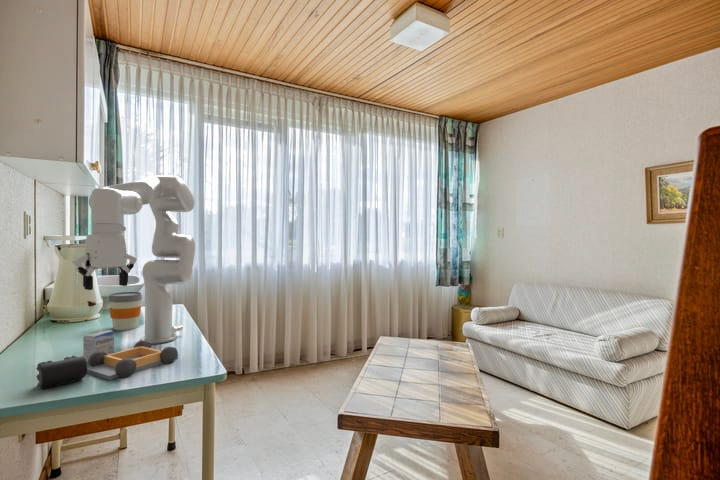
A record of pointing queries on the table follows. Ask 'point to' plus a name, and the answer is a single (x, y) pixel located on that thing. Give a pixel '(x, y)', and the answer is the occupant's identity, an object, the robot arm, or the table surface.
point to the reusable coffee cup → (125, 309)
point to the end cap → (61, 371)
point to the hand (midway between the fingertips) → (106, 287)
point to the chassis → (129, 360)
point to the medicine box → (98, 343)
